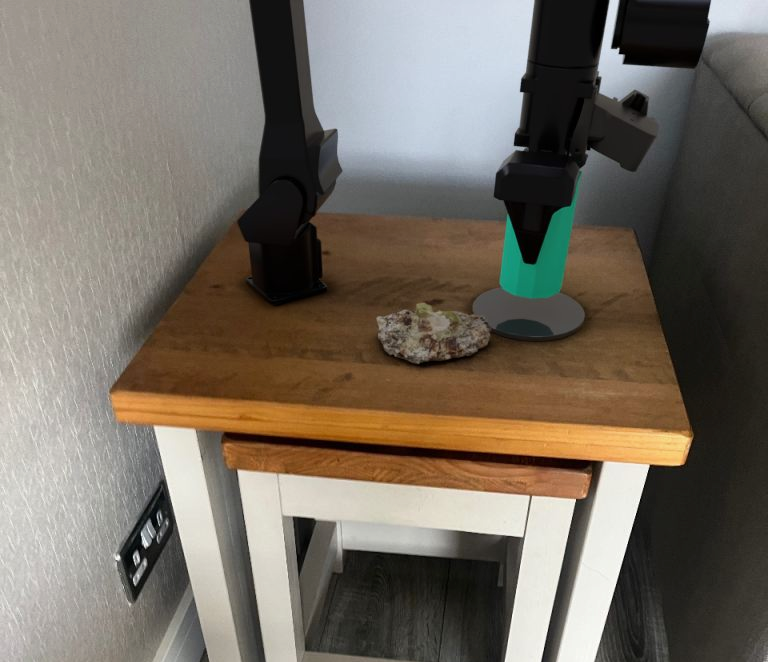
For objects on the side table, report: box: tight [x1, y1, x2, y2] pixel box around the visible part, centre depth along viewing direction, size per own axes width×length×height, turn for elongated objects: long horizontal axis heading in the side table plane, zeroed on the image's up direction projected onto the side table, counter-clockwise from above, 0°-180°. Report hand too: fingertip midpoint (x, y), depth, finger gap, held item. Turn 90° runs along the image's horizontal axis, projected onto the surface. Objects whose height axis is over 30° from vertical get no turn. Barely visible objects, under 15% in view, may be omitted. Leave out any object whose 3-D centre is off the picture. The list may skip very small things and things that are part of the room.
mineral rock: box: [375, 302, 492, 365], centre depth 72 cm, size 11×4×8 cm
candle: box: [498, 170, 583, 299], centre depth 71 cm, size 6×6×12 cm
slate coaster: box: [471, 286, 586, 342], centre depth 77 cm, size 11×11×1 cm
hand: (535, 249), depth 73 cm, fingers closed on candle, 6 cm apart
